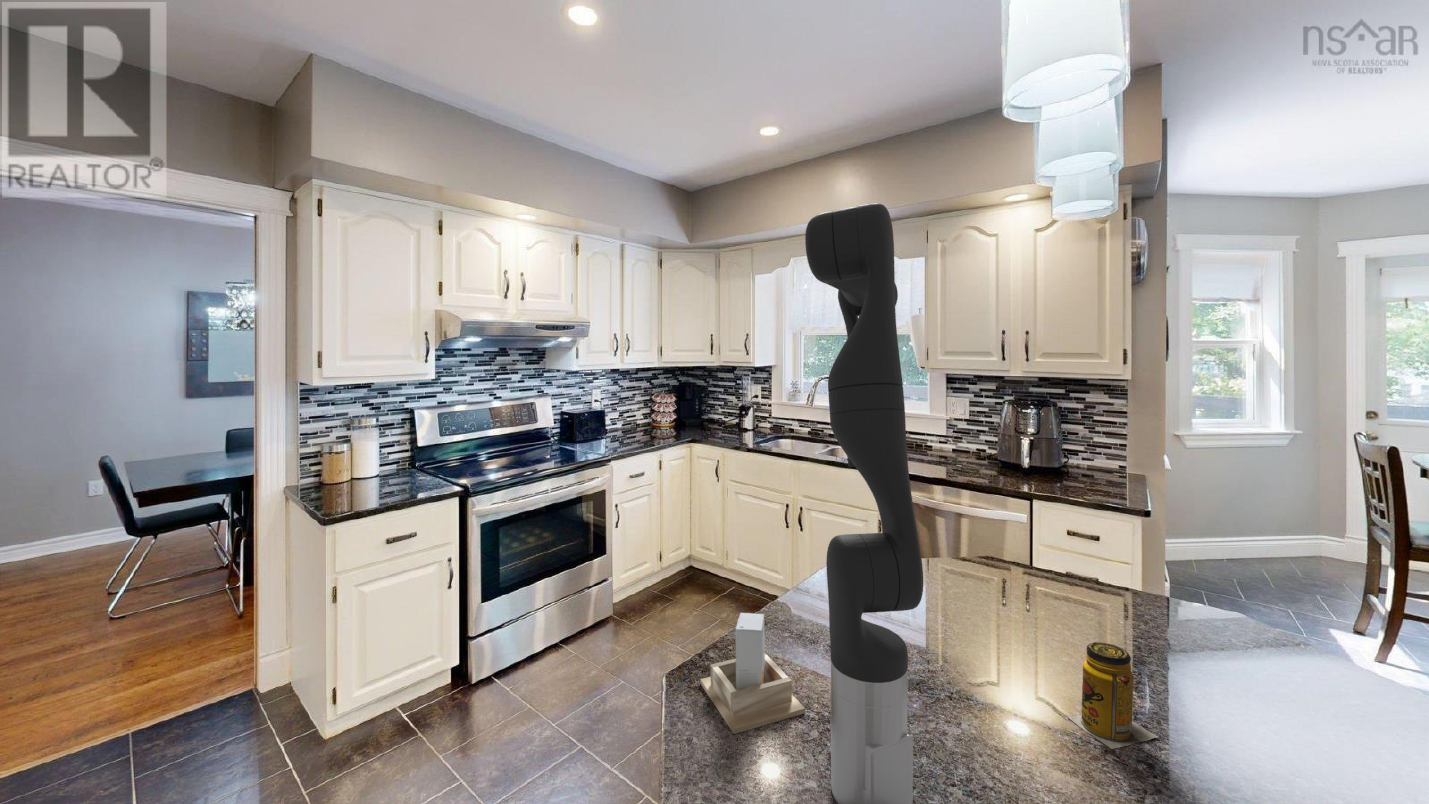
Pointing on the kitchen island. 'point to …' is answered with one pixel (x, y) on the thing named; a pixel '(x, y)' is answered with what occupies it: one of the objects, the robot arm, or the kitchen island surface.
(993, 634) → the kitchen island surface
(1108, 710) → the condiment
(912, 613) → the kitchen island surface
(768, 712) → the block
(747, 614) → the skincare box
